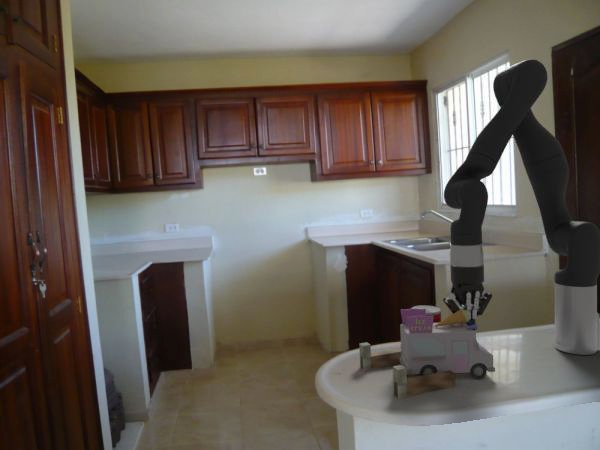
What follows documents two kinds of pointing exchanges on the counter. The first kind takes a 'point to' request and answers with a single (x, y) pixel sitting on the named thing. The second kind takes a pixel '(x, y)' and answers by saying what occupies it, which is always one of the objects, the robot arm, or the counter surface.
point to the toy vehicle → (442, 345)
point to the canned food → (431, 312)
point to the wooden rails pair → (404, 373)
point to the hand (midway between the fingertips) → (468, 333)
